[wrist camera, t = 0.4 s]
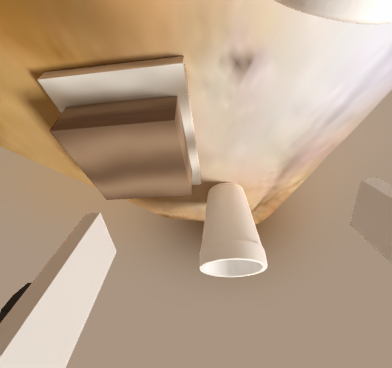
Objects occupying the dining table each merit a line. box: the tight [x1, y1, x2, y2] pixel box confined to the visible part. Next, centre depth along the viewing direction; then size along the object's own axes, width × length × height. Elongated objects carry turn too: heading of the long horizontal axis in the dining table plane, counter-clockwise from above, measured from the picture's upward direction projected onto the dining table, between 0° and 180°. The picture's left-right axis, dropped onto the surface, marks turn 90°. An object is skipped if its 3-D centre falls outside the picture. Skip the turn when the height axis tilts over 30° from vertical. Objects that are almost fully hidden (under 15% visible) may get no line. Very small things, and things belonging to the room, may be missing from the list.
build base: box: [37, 56, 201, 200], centre depth 26 cm, size 18×14×6 cm
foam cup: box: [200, 182, 268, 277], centre depth 33 cm, size 10×9×13 cm
